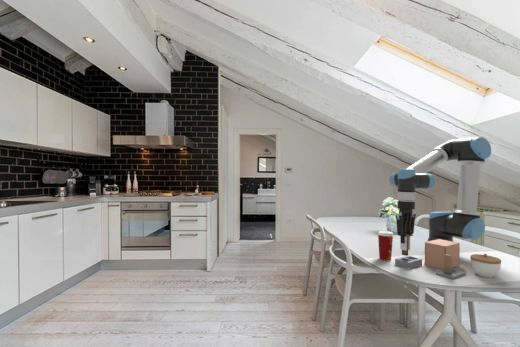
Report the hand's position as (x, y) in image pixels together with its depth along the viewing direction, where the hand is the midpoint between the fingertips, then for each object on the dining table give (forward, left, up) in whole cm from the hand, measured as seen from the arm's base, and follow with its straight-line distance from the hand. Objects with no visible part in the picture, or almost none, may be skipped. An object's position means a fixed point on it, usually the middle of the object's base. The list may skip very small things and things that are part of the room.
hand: (405, 249), depth 136 cm
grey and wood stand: (-7, +17, -8) cm, 20 cm away
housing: (-18, +8, -8) cm, 21 cm away
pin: (0, 0, -3) cm, 3 cm away
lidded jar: (-20, +25, -8) cm, 33 cm away
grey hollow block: (-3, 0, -8) cm, 9 cm away
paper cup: (-2, -12, -8) cm, 15 cm away
